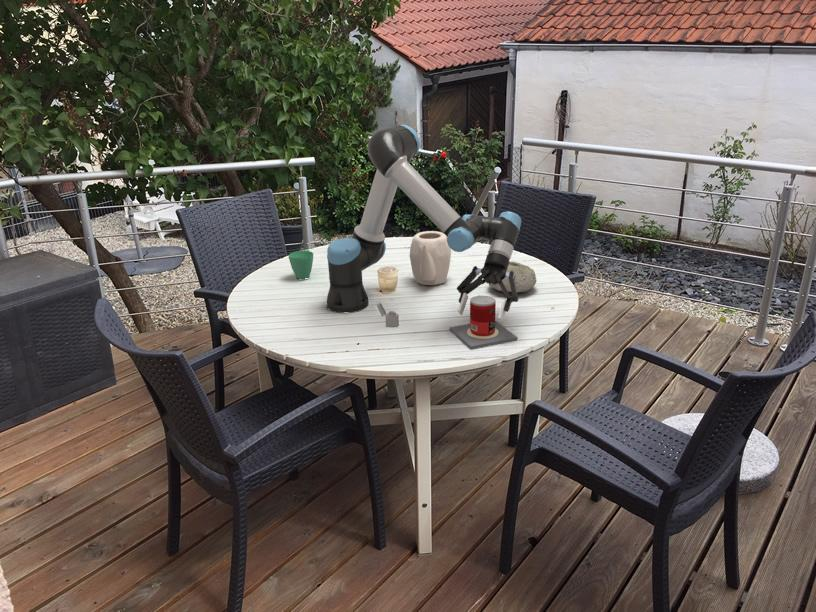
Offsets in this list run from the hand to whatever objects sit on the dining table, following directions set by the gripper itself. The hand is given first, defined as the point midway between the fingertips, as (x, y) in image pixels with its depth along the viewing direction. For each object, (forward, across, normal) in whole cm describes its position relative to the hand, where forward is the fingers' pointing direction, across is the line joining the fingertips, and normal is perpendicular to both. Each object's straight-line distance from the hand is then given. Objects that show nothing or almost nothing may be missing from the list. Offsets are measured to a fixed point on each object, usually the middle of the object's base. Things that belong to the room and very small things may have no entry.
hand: (479, 316), depth 214 cm
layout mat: (+3, 0, -7) cm, 8 cm away
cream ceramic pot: (-23, +38, -33) cm, 55 cm away
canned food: (+3, 0, -6) cm, 7 cm away
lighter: (+8, +31, -2) cm, 33 cm away
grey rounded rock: (-26, +6, -37) cm, 45 cm away
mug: (-13, +89, -24) cm, 93 cm away
